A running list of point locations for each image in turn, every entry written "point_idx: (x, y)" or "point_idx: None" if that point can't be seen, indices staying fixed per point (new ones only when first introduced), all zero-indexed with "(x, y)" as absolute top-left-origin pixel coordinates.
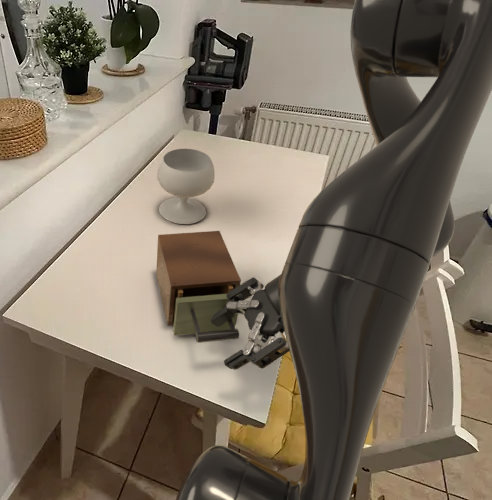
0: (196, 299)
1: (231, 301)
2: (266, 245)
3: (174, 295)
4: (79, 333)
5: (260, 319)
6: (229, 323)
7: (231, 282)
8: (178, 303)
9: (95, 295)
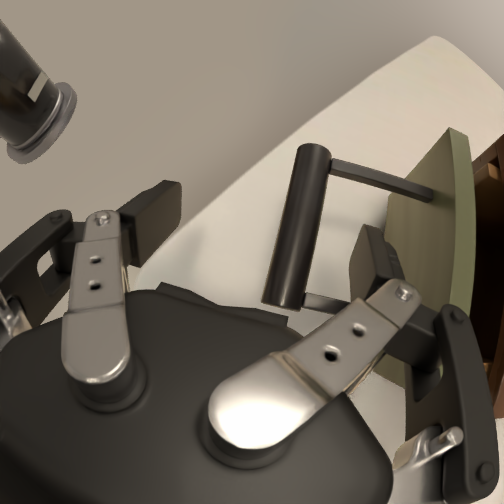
0: (462, 193)
1: (421, 319)
2: (491, 498)
3: (481, 167)
4: (412, 70)
5: (80, 326)
6: (340, 300)
7: (498, 376)
8: (447, 132)
9: (485, 123)
